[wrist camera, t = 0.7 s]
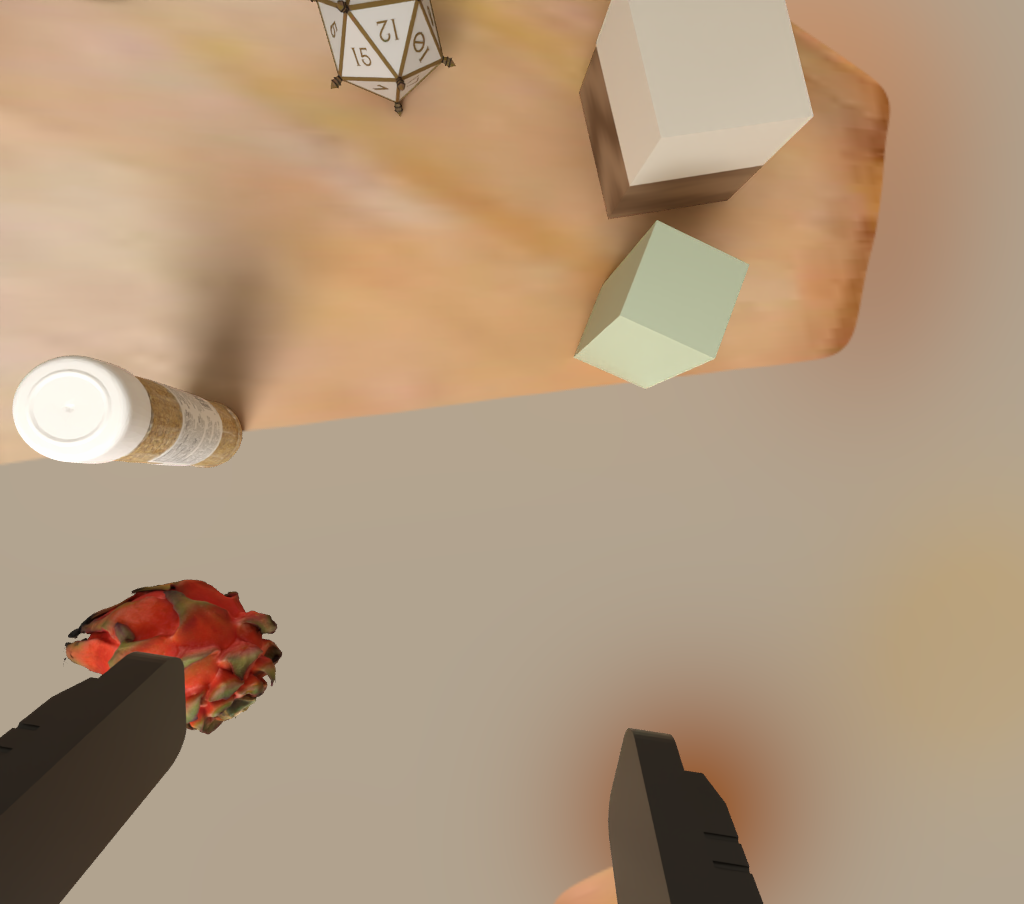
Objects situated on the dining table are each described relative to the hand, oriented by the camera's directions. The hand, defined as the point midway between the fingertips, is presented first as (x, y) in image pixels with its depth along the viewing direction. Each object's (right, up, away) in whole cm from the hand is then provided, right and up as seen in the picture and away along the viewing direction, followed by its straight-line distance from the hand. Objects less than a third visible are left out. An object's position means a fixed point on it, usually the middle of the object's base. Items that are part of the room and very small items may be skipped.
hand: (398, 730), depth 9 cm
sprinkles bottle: (-18, +6, +26) cm, 32 cm away
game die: (-7, +32, +29) cm, 44 cm away
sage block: (+10, +14, +30) cm, 35 cm away
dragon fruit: (-18, -7, +25) cm, 32 cm away
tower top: (+14, +29, +26) cm, 41 cm away
